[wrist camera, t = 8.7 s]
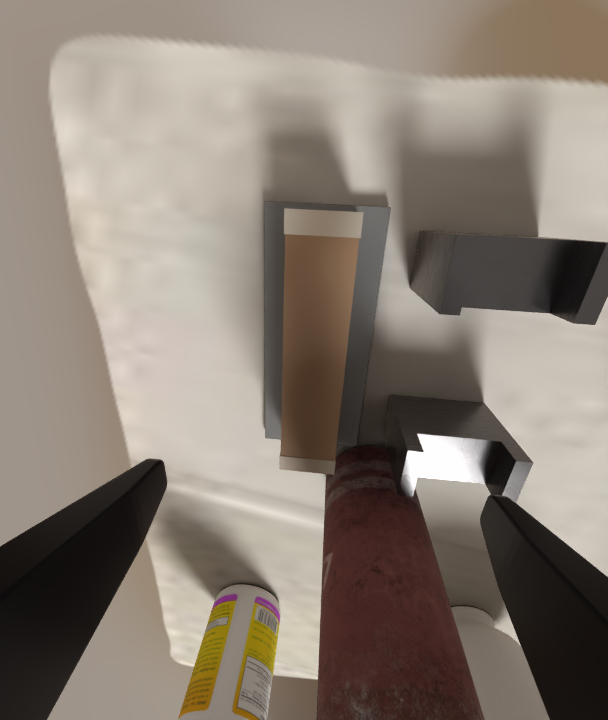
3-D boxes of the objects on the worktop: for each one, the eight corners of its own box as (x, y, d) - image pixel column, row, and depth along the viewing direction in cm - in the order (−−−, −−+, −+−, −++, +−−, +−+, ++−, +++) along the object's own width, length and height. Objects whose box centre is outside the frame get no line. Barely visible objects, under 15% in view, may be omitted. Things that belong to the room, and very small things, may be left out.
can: (384, 516, 25) (436, 823, 12) (313, 485, 24) (288, 773, 12) (429, 464, 23) (551, 778, 10) (350, 428, 22) (371, 713, 9)
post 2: (484, 403, 20) (533, 462, 15) (471, 440, 21) (513, 507, 16) (390, 394, 21) (407, 450, 16) (383, 432, 22) (397, 495, 17)
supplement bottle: (215, 613, 33) (149, 830, 21) (218, 574, 30) (144, 799, 18) (277, 626, 33) (246, 851, 21) (286, 588, 30) (256, 822, 18)
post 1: (538, 236, 16) (631, 244, 11) (519, 295, 17) (594, 325, 12) (420, 230, 17) (457, 234, 11) (409, 287, 18) (439, 314, 13)
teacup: (376, 570, 28) (397, 740, 19) (551, 593, 27) (661, 784, 18) (358, 643, 33) (367, 806, 24) (504, 665, 32) (572, 843, 23)
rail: (358, 214, 16) (363, 212, 13) (334, 439, 22) (334, 474, 19) (293, 210, 16) (284, 208, 13) (287, 435, 22) (279, 469, 19)
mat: (388, 208, 16) (390, 207, 16) (355, 441, 22) (356, 446, 22) (266, 201, 17) (264, 201, 16) (267, 432, 23) (265, 438, 22)
